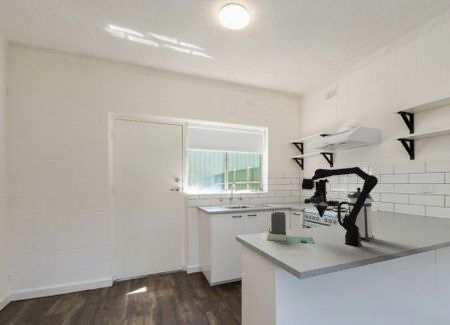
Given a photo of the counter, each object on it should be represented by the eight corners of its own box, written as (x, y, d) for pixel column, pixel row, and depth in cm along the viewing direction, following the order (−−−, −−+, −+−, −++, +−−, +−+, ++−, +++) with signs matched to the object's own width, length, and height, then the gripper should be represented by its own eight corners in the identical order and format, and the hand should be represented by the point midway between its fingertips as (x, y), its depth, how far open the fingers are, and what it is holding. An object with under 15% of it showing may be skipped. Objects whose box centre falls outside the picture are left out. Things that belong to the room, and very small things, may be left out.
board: (312, 238, 133) (312, 227, 134) (315, 245, 120) (315, 233, 120) (267, 235, 140) (267, 225, 140) (266, 242, 126) (266, 230, 126)
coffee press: (366, 234, 143) (364, 186, 144) (381, 241, 127) (378, 188, 129) (337, 233, 144) (336, 186, 146) (348, 240, 128) (346, 188, 130)
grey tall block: (285, 237, 133) (285, 211, 134) (285, 239, 128) (285, 213, 129) (271, 236, 135) (271, 211, 136) (271, 238, 130) (271, 212, 131)
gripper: (298, 189, 134) (299, 216, 133) (330, 191, 119) (330, 221, 119) (308, 189, 141) (309, 214, 140) (339, 190, 127) (340, 219, 126)
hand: (321, 217), depth 131 cm, fingers closed
